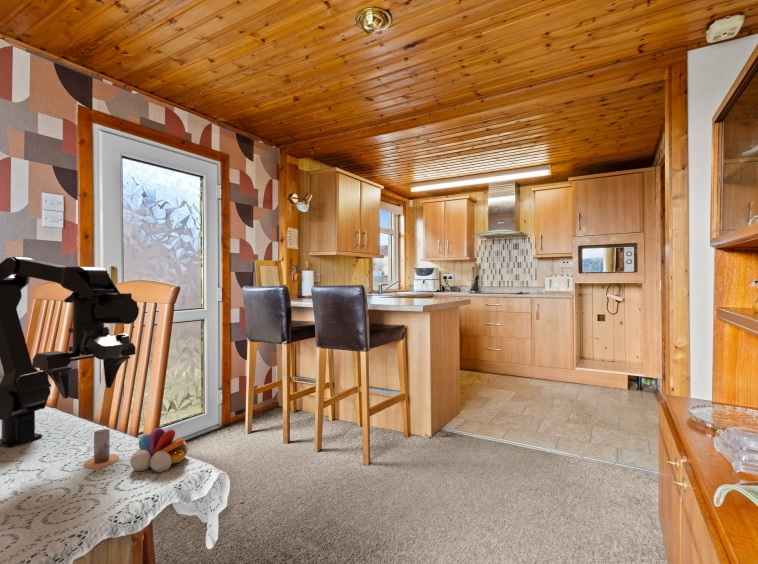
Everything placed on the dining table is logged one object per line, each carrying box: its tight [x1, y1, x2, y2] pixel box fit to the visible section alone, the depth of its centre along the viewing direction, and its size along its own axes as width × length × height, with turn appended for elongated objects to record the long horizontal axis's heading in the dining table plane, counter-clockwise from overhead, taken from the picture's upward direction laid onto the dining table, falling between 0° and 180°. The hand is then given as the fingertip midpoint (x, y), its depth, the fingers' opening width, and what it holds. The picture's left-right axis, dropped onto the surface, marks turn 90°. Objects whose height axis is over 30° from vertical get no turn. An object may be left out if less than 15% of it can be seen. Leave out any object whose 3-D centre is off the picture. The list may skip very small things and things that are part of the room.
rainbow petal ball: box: [130, 427, 189, 473], centre depth 80 cm, size 8×10×7 cm
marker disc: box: [82, 454, 120, 469], centre depth 81 cm, size 6×6×1 cm
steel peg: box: [93, 428, 111, 464], centre depth 81 cm, size 3×3×6 cm
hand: (88, 392), depth 89 cm, fingers open, 9 cm apart
